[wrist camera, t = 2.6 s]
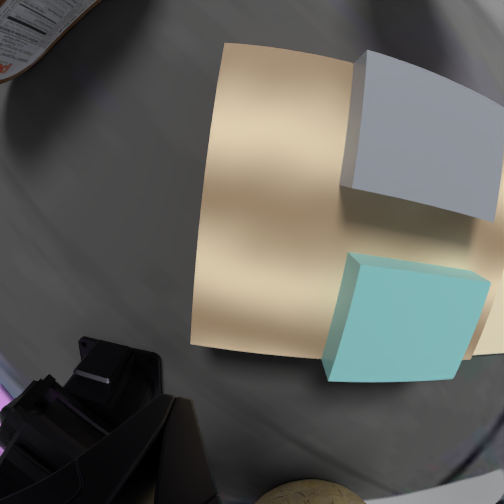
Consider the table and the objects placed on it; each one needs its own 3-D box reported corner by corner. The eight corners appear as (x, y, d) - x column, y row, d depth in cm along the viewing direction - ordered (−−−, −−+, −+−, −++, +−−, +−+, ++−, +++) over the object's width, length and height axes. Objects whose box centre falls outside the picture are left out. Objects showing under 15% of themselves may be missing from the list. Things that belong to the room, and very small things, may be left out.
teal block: (438, 360, 16) (453, 378, 14) (321, 358, 16) (327, 381, 14) (471, 270, 15) (491, 282, 13) (347, 252, 14) (360, 264, 12)
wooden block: (444, 332, 20) (470, 359, 16) (202, 311, 20) (190, 344, 16) (487, 135, 16) (524, 134, 12) (231, 67, 16) (224, 42, 12)
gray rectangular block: (471, 215, 14) (493, 222, 12) (339, 185, 14) (351, 188, 12) (483, 111, 12) (505, 107, 10) (353, 63, 12) (367, 49, 10)
